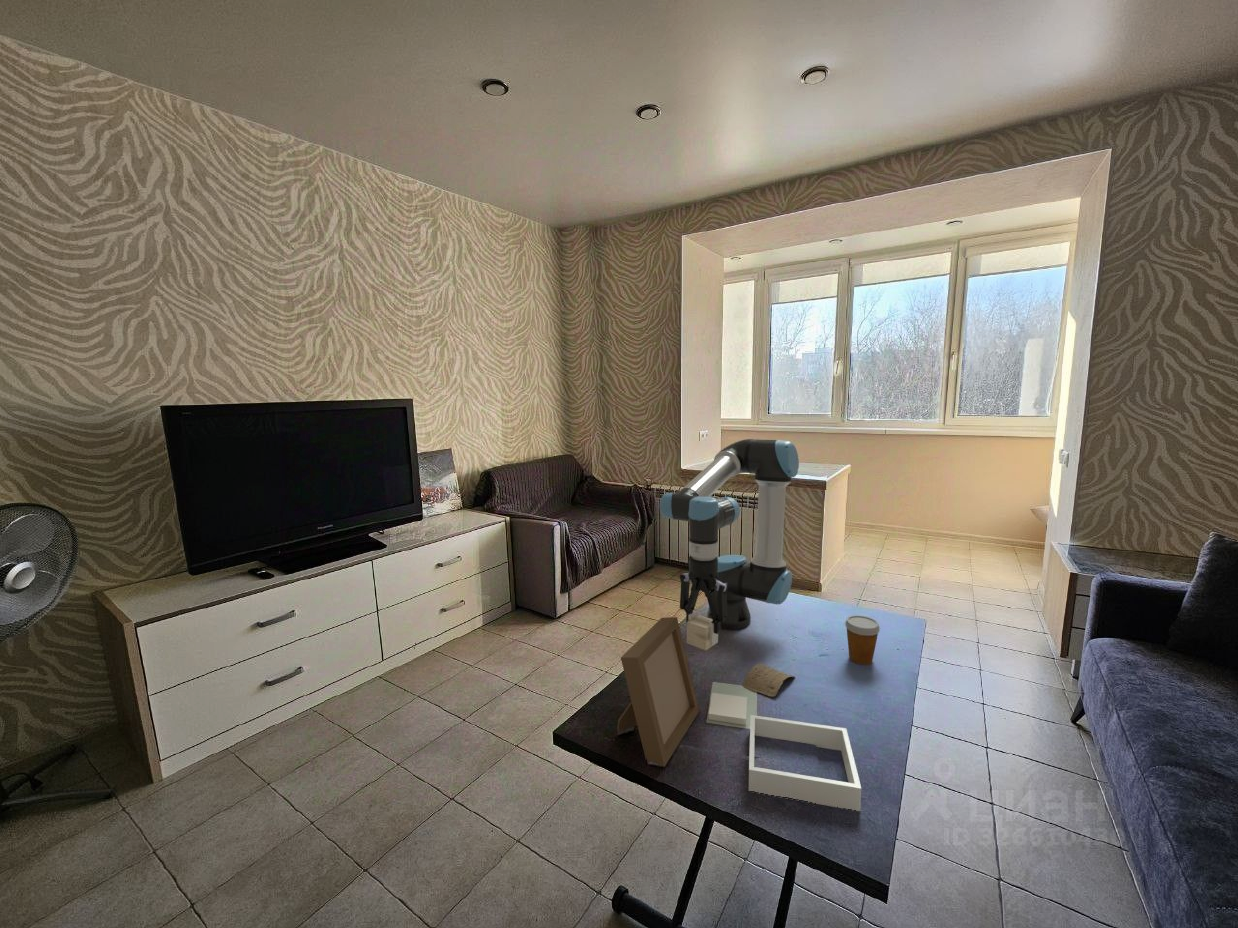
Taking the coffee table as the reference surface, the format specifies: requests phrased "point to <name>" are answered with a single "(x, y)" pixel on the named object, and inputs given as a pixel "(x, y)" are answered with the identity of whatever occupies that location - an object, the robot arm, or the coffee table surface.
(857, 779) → the white open rectangular frame
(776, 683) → the clay tablet
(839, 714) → the coffee table surface
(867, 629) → the disposable coffee cup
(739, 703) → the tile
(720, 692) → the mat
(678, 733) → the photo frame
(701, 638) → the block
